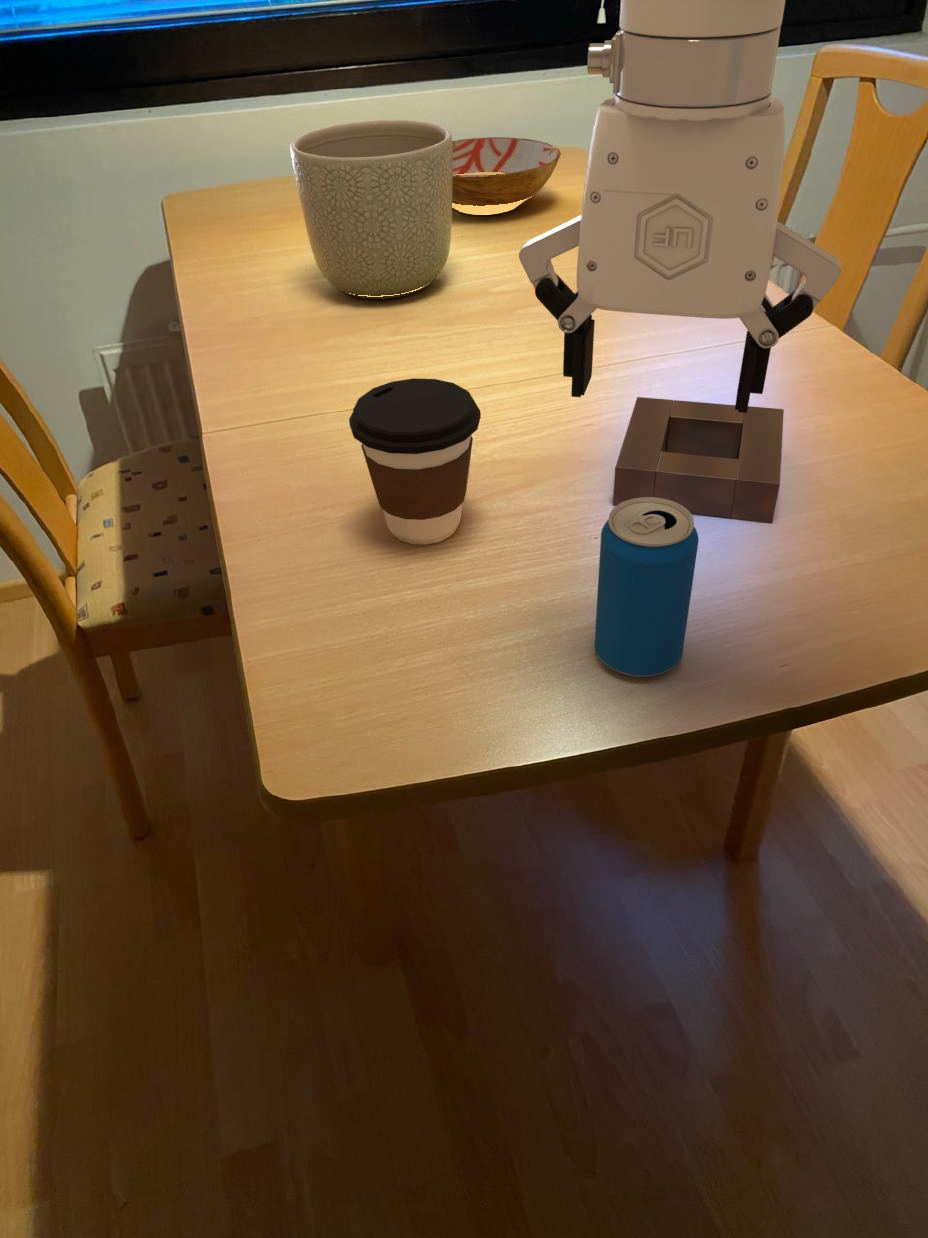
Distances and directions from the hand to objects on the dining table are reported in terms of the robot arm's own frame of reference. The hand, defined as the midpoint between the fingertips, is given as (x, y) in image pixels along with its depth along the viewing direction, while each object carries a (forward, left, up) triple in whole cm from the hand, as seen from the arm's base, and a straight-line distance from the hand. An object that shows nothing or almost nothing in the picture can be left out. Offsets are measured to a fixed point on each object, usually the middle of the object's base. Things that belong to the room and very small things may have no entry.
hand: (660, 394), depth 56 cm
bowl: (+41, -109, -21) cm, 118 cm away
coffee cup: (+21, -13, -21) cm, 32 cm away
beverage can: (0, 0, -21) cm, 21 cm away
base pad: (-2, -27, -21) cm, 34 cm away
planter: (+45, -70, -21) cm, 86 cm away
